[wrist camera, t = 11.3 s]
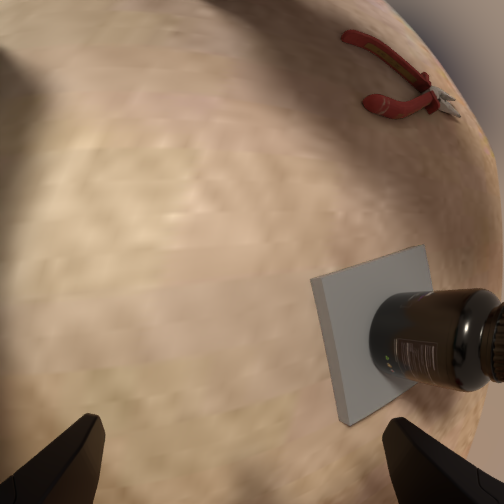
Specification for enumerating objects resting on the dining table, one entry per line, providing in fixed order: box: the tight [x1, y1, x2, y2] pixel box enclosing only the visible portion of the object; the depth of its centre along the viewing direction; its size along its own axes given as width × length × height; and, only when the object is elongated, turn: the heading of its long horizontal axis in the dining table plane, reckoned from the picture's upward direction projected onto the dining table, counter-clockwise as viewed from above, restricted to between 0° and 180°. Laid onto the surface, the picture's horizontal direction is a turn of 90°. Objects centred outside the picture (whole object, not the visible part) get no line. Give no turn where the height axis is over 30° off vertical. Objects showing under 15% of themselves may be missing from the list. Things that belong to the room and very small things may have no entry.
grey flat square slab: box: [310, 244, 433, 426], centre depth 24 cm, size 12×12×2 cm
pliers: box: [341, 30, 461, 119], centre depth 31 cm, size 12×20×3 cm, turn 96°
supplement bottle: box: [369, 288, 504, 392], centre depth 18 cm, size 7×7×12 cm
